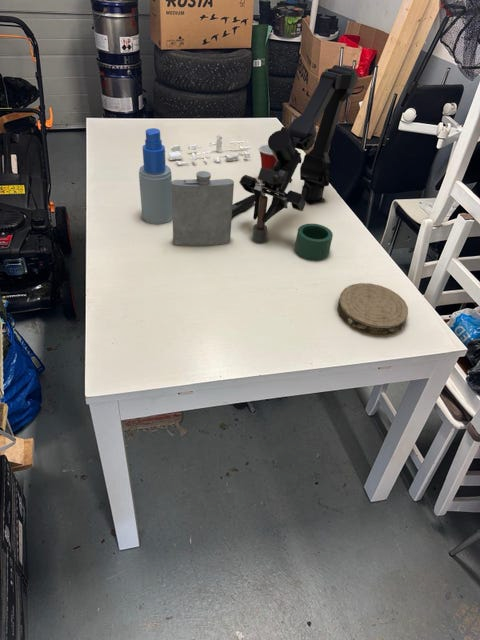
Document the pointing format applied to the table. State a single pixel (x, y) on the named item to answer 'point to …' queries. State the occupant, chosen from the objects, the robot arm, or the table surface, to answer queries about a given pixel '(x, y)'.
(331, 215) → the table surface
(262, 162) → the plastic cup
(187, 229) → the hip flask
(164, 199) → the spray bottle
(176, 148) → the miniature set
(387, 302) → the wood slice coaster
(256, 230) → the brown cylinder with base
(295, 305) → the table surface
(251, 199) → the electric trimmer
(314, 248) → the round container
